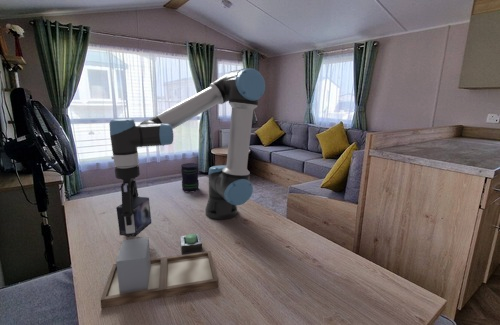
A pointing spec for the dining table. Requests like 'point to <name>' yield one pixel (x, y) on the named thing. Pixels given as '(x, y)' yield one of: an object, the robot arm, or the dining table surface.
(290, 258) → the dining table surface
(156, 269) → the frame
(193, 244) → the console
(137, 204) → the small box
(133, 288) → the billet
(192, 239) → the button
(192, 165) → the storage jar
